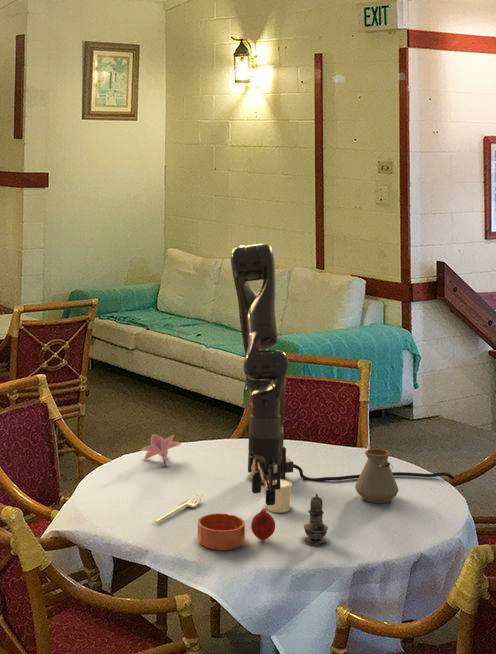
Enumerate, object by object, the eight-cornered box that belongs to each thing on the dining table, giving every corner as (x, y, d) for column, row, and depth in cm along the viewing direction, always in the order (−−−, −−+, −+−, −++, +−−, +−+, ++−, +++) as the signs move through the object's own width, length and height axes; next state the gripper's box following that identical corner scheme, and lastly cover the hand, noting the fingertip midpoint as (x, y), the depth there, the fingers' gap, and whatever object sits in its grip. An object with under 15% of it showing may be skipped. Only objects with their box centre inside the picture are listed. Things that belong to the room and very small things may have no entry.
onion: (273, 546, 230) (274, 514, 229) (249, 544, 231) (250, 512, 230) (275, 536, 235) (276, 505, 234) (252, 534, 236) (252, 503, 235)
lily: (187, 463, 292) (179, 432, 295) (181, 460, 281) (172, 428, 284) (149, 474, 293) (141, 443, 296) (142, 471, 282) (134, 439, 285)
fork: (151, 522, 244) (151, 515, 243) (194, 499, 260) (194, 492, 260) (161, 525, 242) (161, 518, 241) (204, 502, 258) (204, 495, 258)
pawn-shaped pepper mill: (309, 534, 237) (311, 487, 235) (331, 540, 233) (333, 492, 232) (298, 542, 232) (300, 494, 230) (321, 548, 229) (322, 499, 227)
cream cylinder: (274, 515, 249) (275, 489, 248) (260, 506, 255) (260, 480, 254) (296, 510, 252) (297, 485, 251) (281, 502, 258) (282, 477, 257)
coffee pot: (351, 490, 267) (353, 437, 265) (393, 491, 267) (395, 438, 265) (364, 519, 246) (366, 463, 244) (409, 520, 246) (412, 464, 244)
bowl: (234, 530, 239) (234, 511, 238) (251, 548, 228) (252, 528, 228) (191, 535, 236) (191, 515, 235) (207, 554, 225) (207, 533, 224)
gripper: (291, 440, 224) (289, 507, 226) (267, 423, 237) (266, 487, 239) (261, 442, 222) (260, 510, 224) (238, 425, 235) (237, 490, 237)
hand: (263, 498), depth 232 cm, fingers open, 8 cm apart
